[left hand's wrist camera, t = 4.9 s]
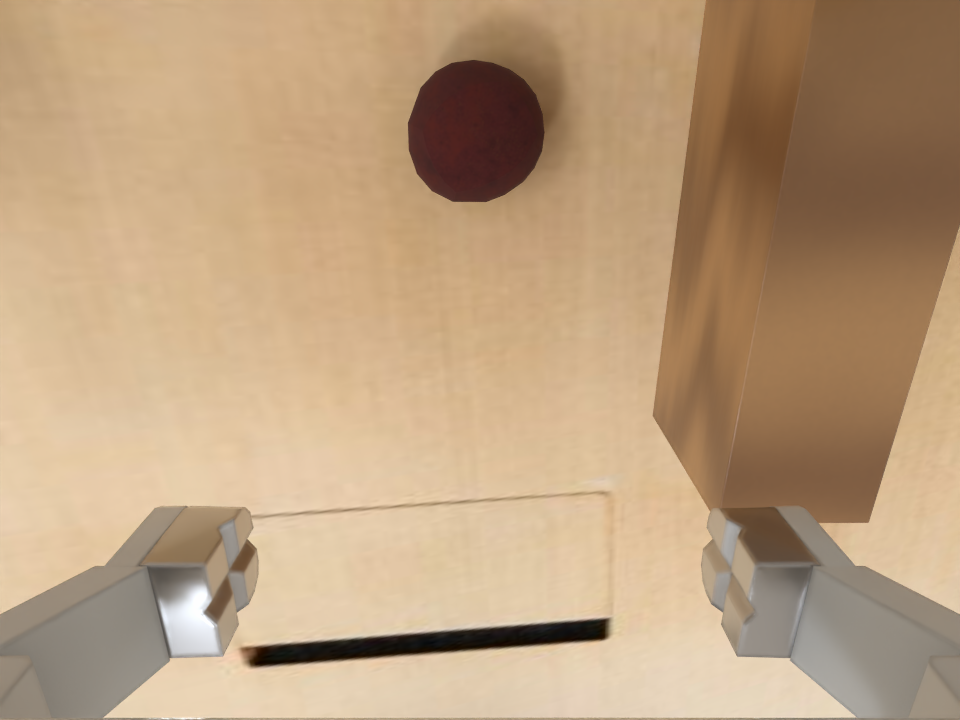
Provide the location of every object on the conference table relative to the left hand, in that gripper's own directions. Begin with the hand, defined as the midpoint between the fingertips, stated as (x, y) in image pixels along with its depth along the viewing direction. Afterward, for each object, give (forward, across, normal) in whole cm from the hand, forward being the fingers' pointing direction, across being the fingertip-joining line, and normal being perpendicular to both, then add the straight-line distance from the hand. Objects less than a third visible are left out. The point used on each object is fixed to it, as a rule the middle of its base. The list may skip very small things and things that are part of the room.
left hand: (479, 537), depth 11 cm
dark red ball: (+30, 0, -7) cm, 31 cm away
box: (+21, -13, -6) cm, 25 cm away
